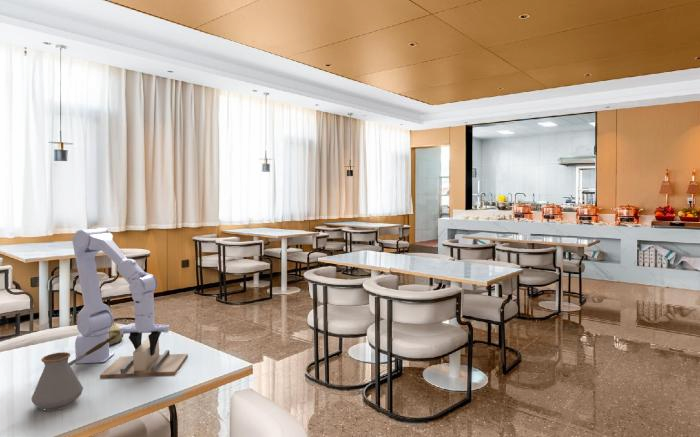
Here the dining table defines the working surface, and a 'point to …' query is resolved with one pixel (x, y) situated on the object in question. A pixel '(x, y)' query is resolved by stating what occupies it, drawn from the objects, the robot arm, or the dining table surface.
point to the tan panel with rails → (160, 366)
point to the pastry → (115, 331)
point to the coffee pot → (60, 380)
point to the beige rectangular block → (144, 356)
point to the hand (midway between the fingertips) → (146, 354)
